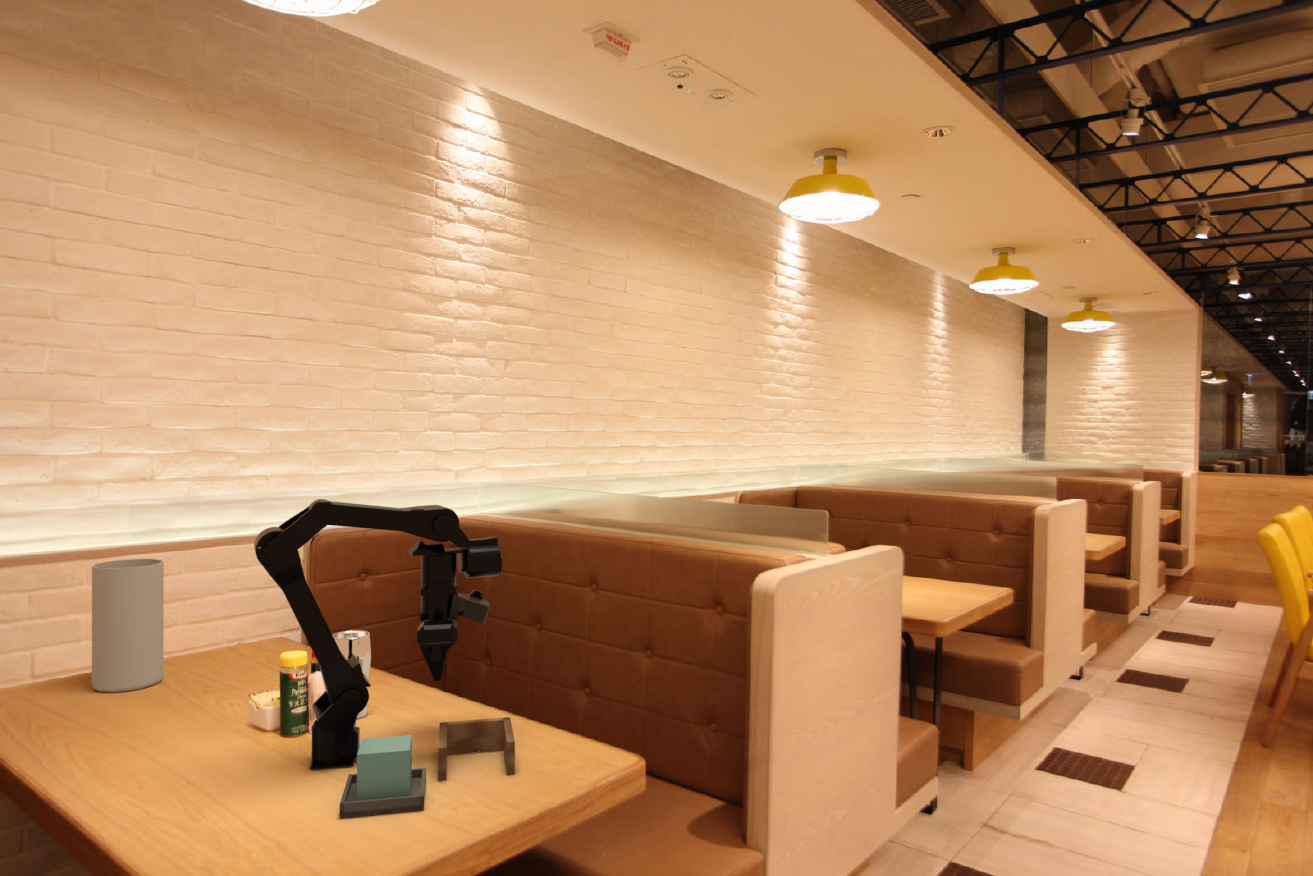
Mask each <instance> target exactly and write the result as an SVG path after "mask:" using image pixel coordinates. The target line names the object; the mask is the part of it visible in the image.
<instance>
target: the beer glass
mask: <svg viewBox="0 0 1313 876" xmlns="http://www.w3.org/2000/svg"><path fill="white" fill-rule="evenodd" d="M332 635H333V637H334V639H335V641H336V643H337V646H338V648H339V650H340V651H341V653H342V654H343V655H344V656H345V658H346V659H347V660H348V659H350V658H351V657H352V656H354V655H355V656H356V658H357V660H358V661H359V663H360V665H361V668H362V672H363V673H364V674H365V676H366V678H367V679H368V680H369V675H370V671H371V663H372V649H371V647H372V646H371V637H370V635H371V632H369V631H367V630H358V629H355V630H345V631H339V632H335V633H334V634H332ZM368 707H369V706H368V704H367V705H366V707H365V708H364V709H363V710H362V711H361V712H360V713H358V716H357V718H356V720H359V719H362V718H365V717H366V716H367V715H368V714H369V708H368Z"/></svg>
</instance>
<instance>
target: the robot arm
mask: <svg viewBox="0 0 1313 876" xmlns="http://www.w3.org/2000/svg"><path fill="white" fill-rule="evenodd" d="M459 519H460V518H459V516H458V514H457V513H456V512H455V511H454V510H453V509H451V508H448V507H445V506H443V505H440V504H430V505H429V504H427V505H416V506H407V507H392V506H381V505H373V504H361V503H353V502H352V503H351V502H344V501H343V502H341V501H332V500H328V499H324V498H319V499H316V500H313V502H311V503H310V504H309V505H308V506H307V507H305V508H304V509H303V510H301V511H299V512H298V513H297V514H295V515H293V516H291V517H290V518H289V519H287V520H285V521H284V522H283V523H281V524H279V526H271V527H267V528H264V529H263V530H262V531H260V532H259V533H258V534H257V536H256V538H255V540H254V543H253V548H254V549H253V550H254V552H255V556H256V559H257V560H258V562H259V563H260V565H261V566H262V567H263V568H264V570H265V571H266V572H267V574H268V575H269V576H270V578H271V579H272V580H273V581H274V582H275V583H276V585H277V586H278V587H279V588H280V589H281V591H282V592H283V594H284V597H285V598H286V601H287V602H288V605H289V606H290V608H291V611H292V612H293V614H294V616H295V619H296V620H297V622H298V623H297V624H298V625H299V626H300V628H301V631H302V632H303V635H304V637H305V638H306V641H307V643H308V644H309V647H310V648H311V651H312V652H313V655H314V657H315V658H316V660H317V662H318V665H319V670H320V673H321V677H322V681H323V684H324V685H323V686H324V688H325V691H324V692H323V693H322V694H321V695H320V696H319V697H318V698H317V699H316V700H315V701H314V703H312V706H311V707H312V710H313V714H314V715H315V719H316V720H314V722H313V724H312V726H311V762H310V764H309V766H308V767H309V768H308V769H309V770H321V769H323V770H324V769H334V768H346V767H352V766H354V765H355V761H356V760H357V753H358V750H359V747H360V743H361V739H360V738H361V737H360V736H361V735H360V732H361V731H360V730H361V729H360V727H359V726H357V719H356V718H357V716H358V713H360V712H361V711H362V710H363V709H364V708H365V707H366V705H367V706H368V702H369V700H370V693H369V690H368V688H370V687H371V686H372V685H371V683H370V682H369V678H368V679H367V678H366V676H365V674H364V673H363V672H362V668H361V665H360V663H359V661H358V660H357V658H356V656H355V655H354V656H352V657H351V658H350V659H348V660H347V659H346V658H345V656H344V655H343V654H342V653H341V651H340V650H339V648H338V646H337V643H336V641H335V639H334V637H333V635H334V634H333V633H332V631H331V630H330V627H329V625H328V623H327V621H326V619H325V617H324V615H323V613H322V611H321V609H320V607H319V605H318V603H317V601H316V599H315V597H314V595H313V593H312V591H311V588H310V587H309V585H308V582H307V581H306V577H305V572H304V568H303V565H302V560H301V557H300V553H299V549H300V548H302V547H303V546H304V545H306V544H307V543H308V542H309V541H311V540H312V539H313V538H314V537H315V536H316V535H317V534H319V533H320V531H322V530H323V529H325V528H326V527H328V526H333V527H334V526H335V527H336V526H337V527H345V528H347V527H348V528H359V529H371V530H382V531H383V530H384V531H391V532H392V531H395V532H402V533H406V534H409V535H413V536H417V537H419V538H423V539H427V540H430V541H434V542H438V543H424V541H423V540H421V539H417V542H415V544H414V545H413V546H412V547H410V548H409V549H408V554H410V555H411V556H413V557H420V594H419V595H420V614H419V618H420V620H419V621H420V622H421V623H420V624H419V625H418V626H417V630H416V632H417V634H416V635H417V637H416V638H417V639H416V642H417V645H418V647H419V649H420V651H421V654H422V656H423V658H424V660H425V662H426V664H427V667H428V669H429V672H430V674H431V676H432V678H433V680H434V682H441V681H442V678H443V673H444V668H445V664H446V659H447V653H448V651H449V650H450V649H451V648H452V647H453V646H455V645H456V644H457V642H458V624H457V623H458V619H459V616H460V617H463V618H466V619H468V620H472V621H474V622H475V623H478V624H479V625H480V624H482V625H484V624H485V622H486V619H487V616H488V614H489V611H490V608H491V603H490V601H488V599H483V592H482V590H478V589H474V588H473V589H472V590H471V591H470V593H463V592H459V586H458V584H457V572H459V574H461V573H462V574H463V576H464V577H465V578H466V579H473V578H474V579H475V578H487V577H498V576H500V575H501V572H502V569H503V557H502V554H501V549H500V546H499V540H498V539H499V538H498V537H496V536H486V537H482V538H480V537H479V538H468V535H466V534H465V533H464V531H463V530H462V529H461V528H460V520H459ZM444 542H445V543H446V542H448V543H450V544H451V545H454V546H456V547H450V548H448V547H446V548H445V546H444V544H443V543H444Z"/></svg>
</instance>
